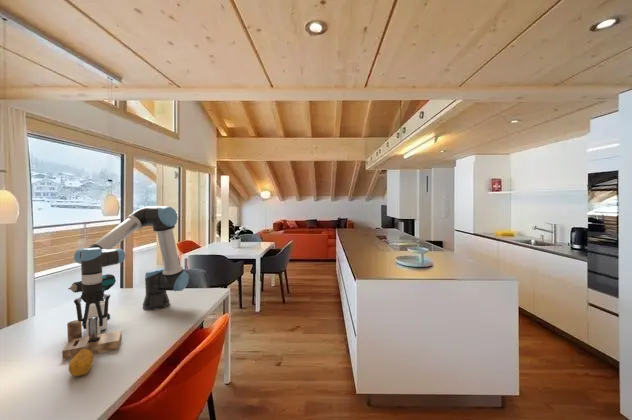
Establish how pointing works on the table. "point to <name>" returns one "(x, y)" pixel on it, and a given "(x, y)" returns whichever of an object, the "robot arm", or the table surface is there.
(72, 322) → the walnut dowel
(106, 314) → the robot arm
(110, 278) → the power drill
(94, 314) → the cup
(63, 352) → the socket block
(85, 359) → the potato
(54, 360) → the table surface
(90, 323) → the grey metal peg
